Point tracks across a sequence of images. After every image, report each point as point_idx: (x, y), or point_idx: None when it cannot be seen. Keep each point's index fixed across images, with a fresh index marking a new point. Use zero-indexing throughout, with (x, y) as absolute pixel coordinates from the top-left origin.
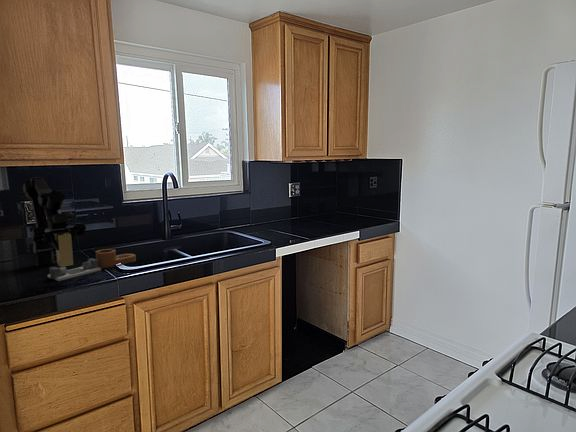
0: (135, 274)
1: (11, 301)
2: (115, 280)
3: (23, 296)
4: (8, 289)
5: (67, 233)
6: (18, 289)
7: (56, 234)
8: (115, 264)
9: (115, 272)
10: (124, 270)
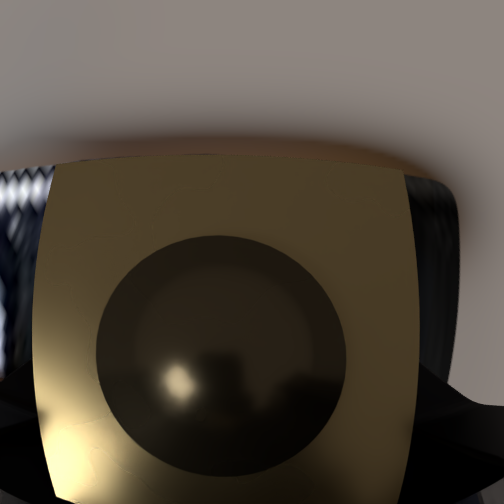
0: (12, 190)
1: (443, 189)
2: (84, 160)
3: (417, 213)
4: (444, 349)
5: (71, 365)
6: (423, 324)
7: (398, 421)
8: (1, 379)
9: (31, 278)
10: (3, 279)
